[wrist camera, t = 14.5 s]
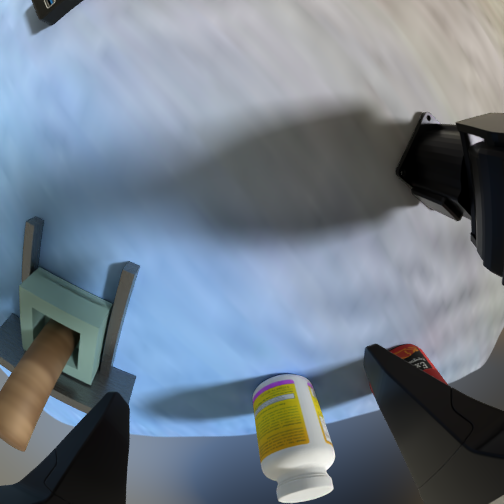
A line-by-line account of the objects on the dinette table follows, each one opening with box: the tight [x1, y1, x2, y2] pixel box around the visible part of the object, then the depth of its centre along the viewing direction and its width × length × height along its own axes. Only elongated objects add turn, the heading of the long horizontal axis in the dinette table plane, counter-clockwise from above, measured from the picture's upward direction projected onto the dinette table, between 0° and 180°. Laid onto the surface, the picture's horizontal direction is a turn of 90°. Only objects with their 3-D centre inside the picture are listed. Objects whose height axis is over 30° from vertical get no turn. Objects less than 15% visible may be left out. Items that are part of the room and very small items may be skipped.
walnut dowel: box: [0, 318, 80, 451], centre depth 15 cm, size 4×4×13 cm
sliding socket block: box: [19, 267, 113, 385], centre depth 20 cm, size 8×8×4 cm
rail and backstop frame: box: [0, 216, 140, 414], centre depth 19 cm, size 14×16×6 cm
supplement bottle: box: [252, 374, 335, 503], centre depth 22 cm, size 7×7×13 cm
